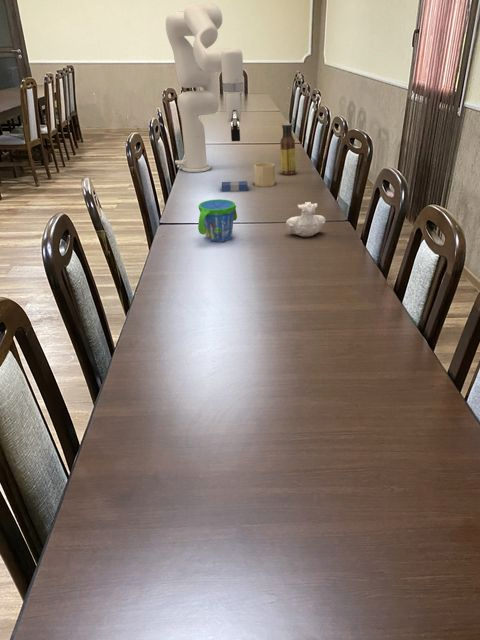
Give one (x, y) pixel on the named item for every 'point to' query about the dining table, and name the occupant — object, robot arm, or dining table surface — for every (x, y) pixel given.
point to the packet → (235, 186)
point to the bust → (305, 221)
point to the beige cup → (264, 174)
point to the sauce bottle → (288, 151)
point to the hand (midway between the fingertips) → (235, 139)
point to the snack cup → (217, 219)
